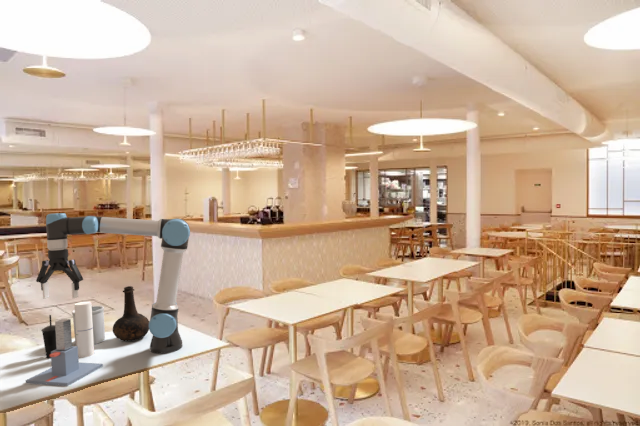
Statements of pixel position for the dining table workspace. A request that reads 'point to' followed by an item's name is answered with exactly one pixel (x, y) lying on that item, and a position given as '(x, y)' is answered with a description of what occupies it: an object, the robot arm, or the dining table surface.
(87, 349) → the cylindrical container
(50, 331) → the drinking cup
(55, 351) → the stand
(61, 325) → the column
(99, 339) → the utensil holder
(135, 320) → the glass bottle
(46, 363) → the dining table surface
